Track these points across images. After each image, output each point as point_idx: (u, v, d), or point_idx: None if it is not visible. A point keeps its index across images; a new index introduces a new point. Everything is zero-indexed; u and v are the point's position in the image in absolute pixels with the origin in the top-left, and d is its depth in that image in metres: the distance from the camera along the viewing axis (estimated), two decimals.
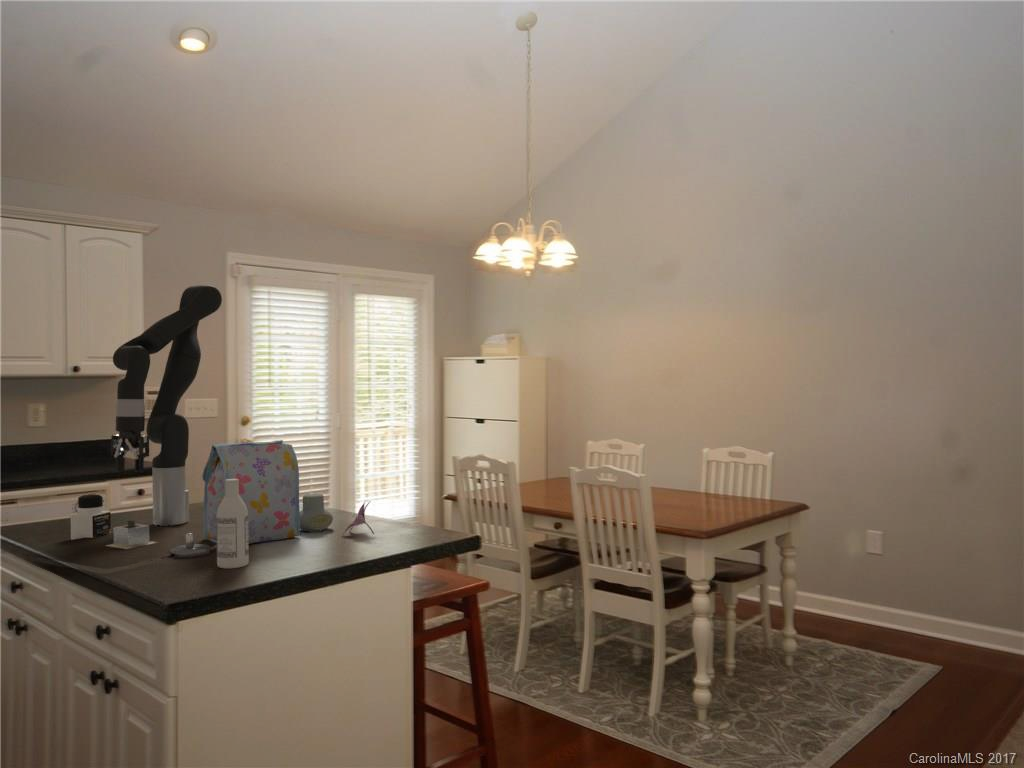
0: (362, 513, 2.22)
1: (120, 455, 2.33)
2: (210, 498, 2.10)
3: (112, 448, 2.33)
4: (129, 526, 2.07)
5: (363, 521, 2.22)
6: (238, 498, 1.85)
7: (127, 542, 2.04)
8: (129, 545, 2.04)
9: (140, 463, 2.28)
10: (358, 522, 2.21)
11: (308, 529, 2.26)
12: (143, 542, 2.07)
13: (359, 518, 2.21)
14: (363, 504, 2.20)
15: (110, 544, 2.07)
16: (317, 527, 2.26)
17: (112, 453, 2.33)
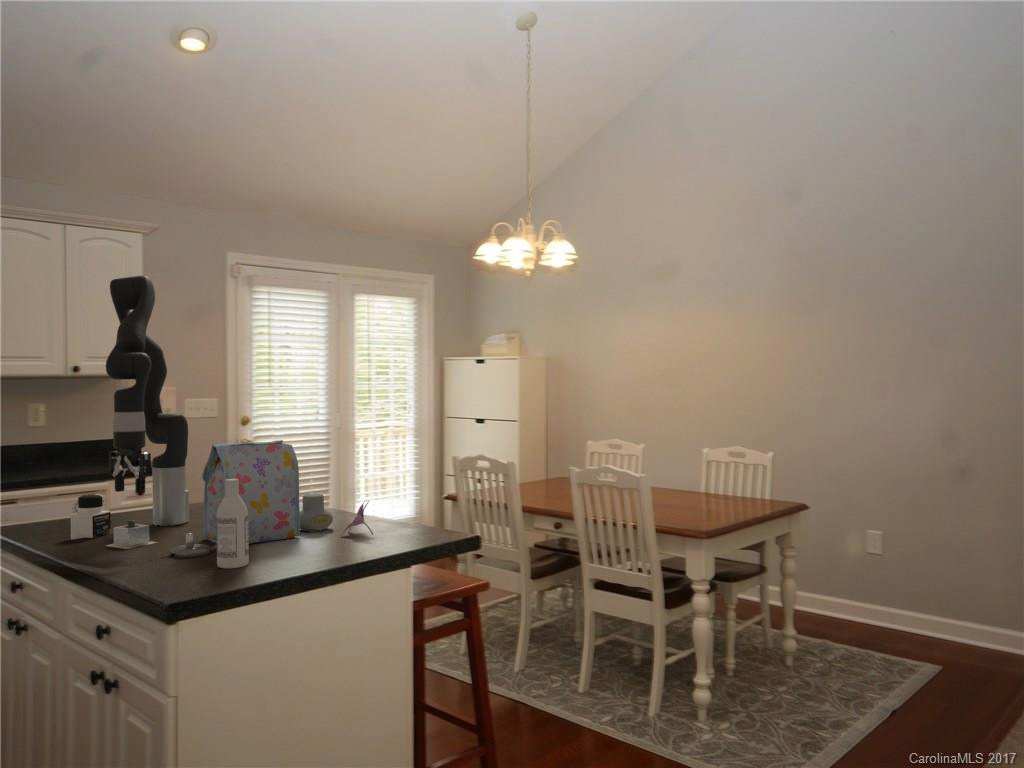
0: (361, 513, 2.22)
1: (119, 474, 2.10)
2: (210, 498, 2.10)
3: (110, 466, 2.10)
4: (129, 526, 2.07)
5: (362, 521, 2.22)
6: (238, 498, 1.85)
7: (127, 542, 2.04)
8: (129, 545, 2.04)
9: (141, 483, 2.05)
10: (357, 522, 2.21)
11: (308, 529, 2.26)
12: (143, 542, 2.07)
13: (358, 518, 2.20)
14: (362, 504, 2.20)
15: (110, 544, 2.07)
16: (317, 527, 2.26)
17: (110, 472, 2.10)
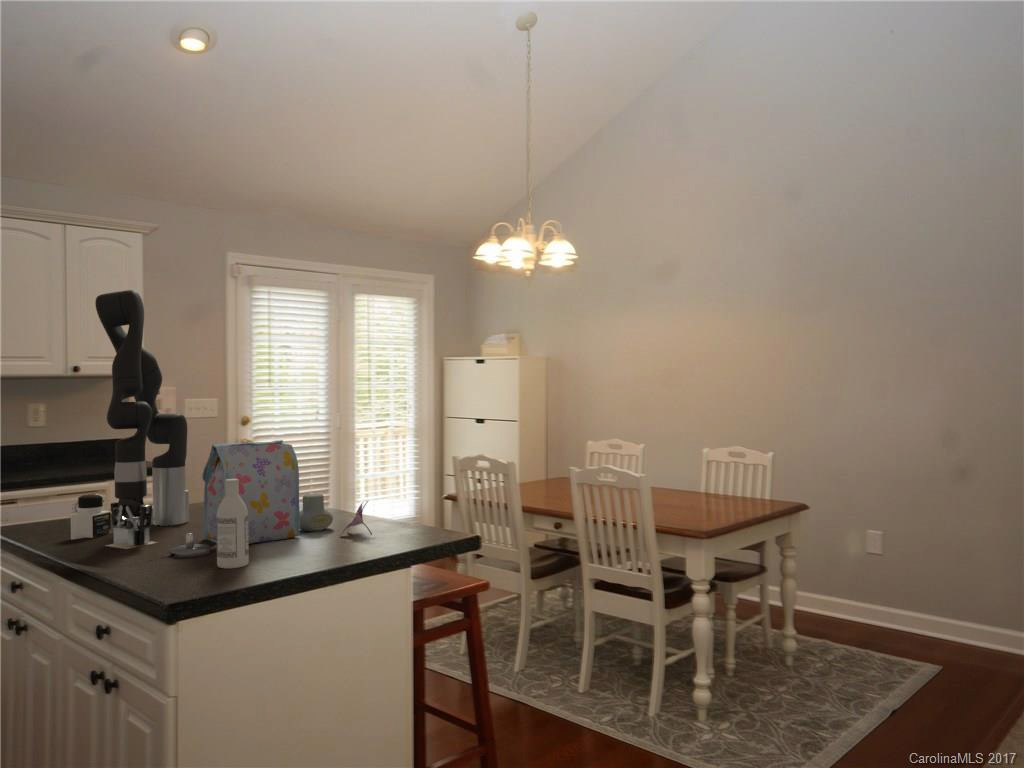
0: (360, 513, 2.22)
1: (123, 525, 2.09)
2: (210, 498, 2.10)
3: (113, 517, 2.09)
4: (129, 526, 2.07)
5: (361, 521, 2.22)
6: (238, 498, 1.85)
7: (127, 542, 2.04)
8: (129, 545, 2.04)
9: (141, 535, 2.05)
10: (356, 522, 2.21)
11: (308, 529, 2.26)
12: None
13: (357, 518, 2.20)
14: (361, 504, 2.20)
15: (110, 544, 2.07)
16: (317, 527, 2.26)
17: (114, 523, 2.09)
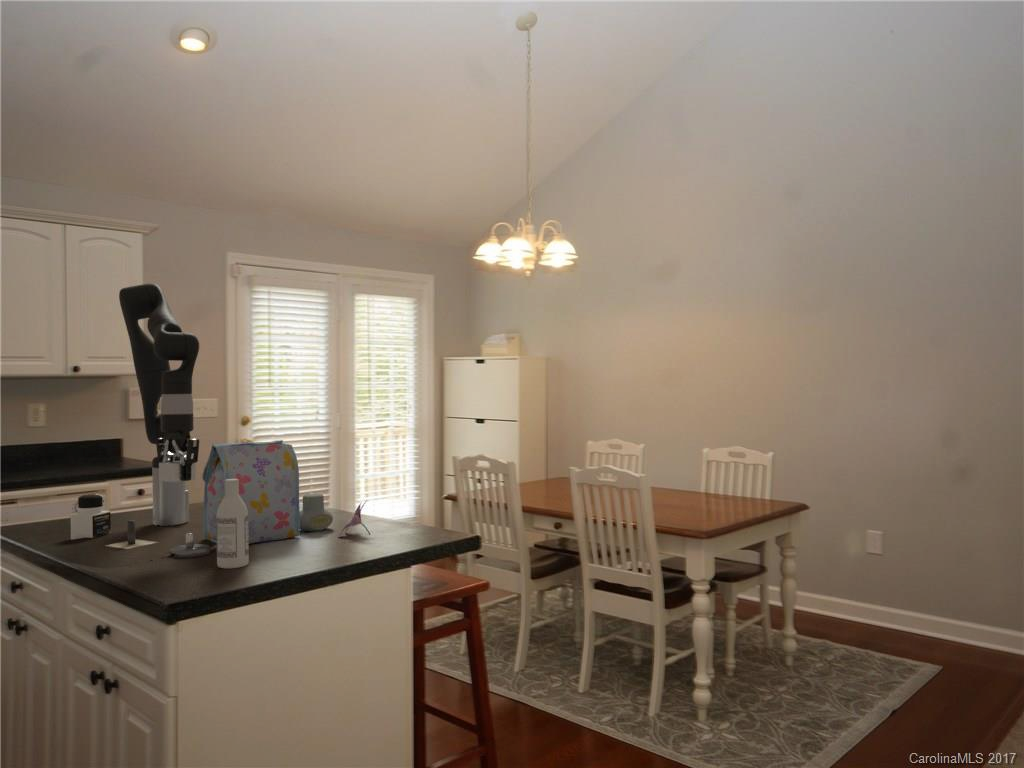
0: (358, 513, 2.22)
1: (169, 461, 2.01)
2: (210, 498, 2.10)
3: (159, 453, 2.01)
4: (129, 526, 2.07)
5: (359, 521, 2.22)
6: (238, 498, 1.85)
7: (173, 477, 1.95)
8: (175, 480, 1.96)
9: (187, 470, 1.97)
10: (354, 522, 2.21)
11: (308, 529, 2.26)
12: None
13: (355, 518, 2.20)
14: None
15: (110, 544, 2.07)
16: (317, 527, 2.26)
17: (160, 459, 2.01)
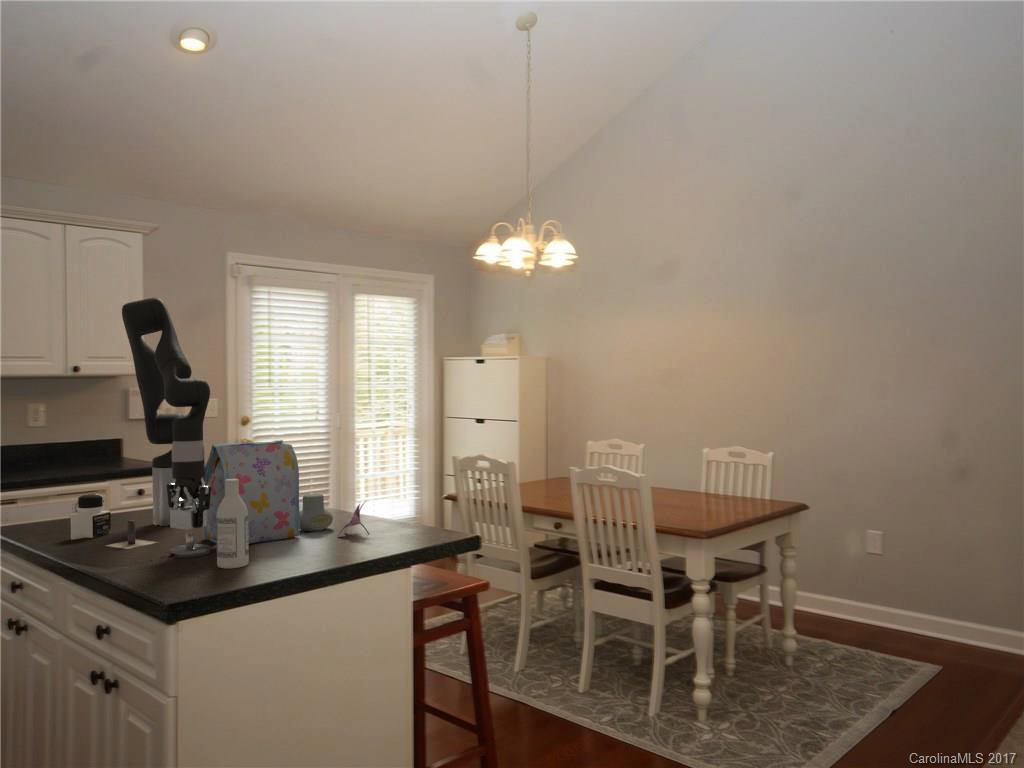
0: (357, 514, 2.21)
1: (180, 507, 2.01)
2: (210, 498, 2.10)
3: (170, 499, 2.01)
4: (129, 526, 2.07)
5: (358, 522, 2.21)
6: (238, 498, 1.85)
7: (185, 524, 1.95)
8: (187, 527, 1.96)
9: (199, 517, 1.97)
10: (353, 523, 2.20)
11: (308, 529, 2.26)
12: None
13: (354, 519, 2.20)
14: (359, 504, 2.19)
15: (110, 544, 2.07)
16: (317, 527, 2.26)
17: (170, 505, 2.01)
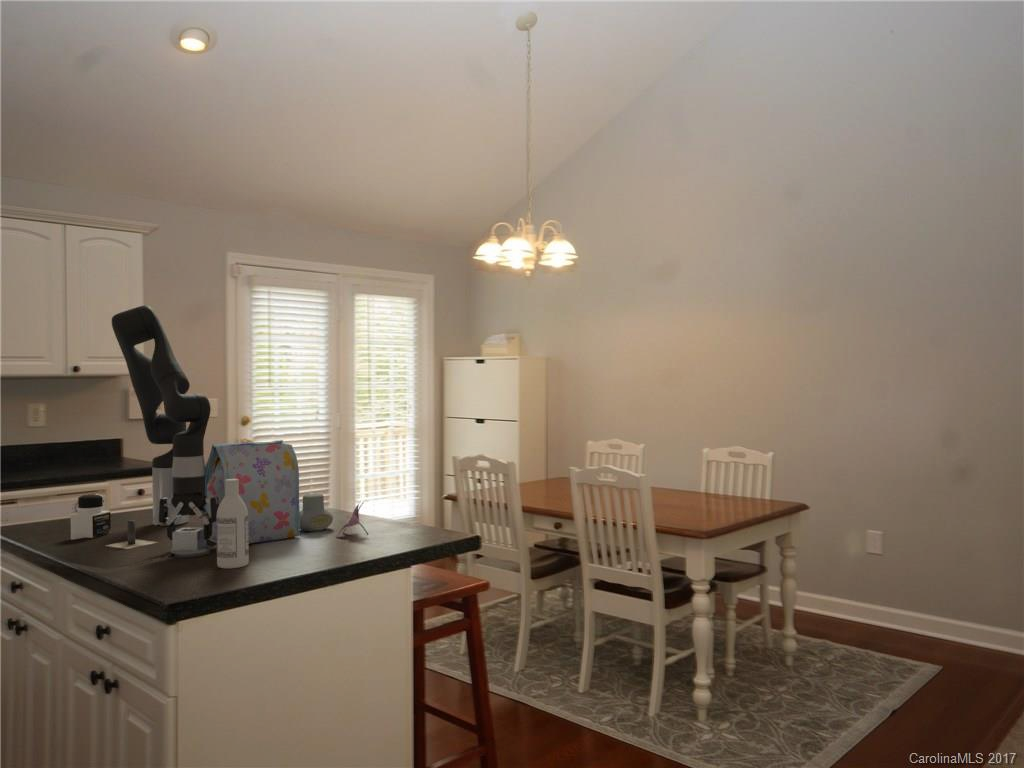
0: (356, 514, 2.21)
1: (172, 521, 1.99)
2: None
3: (162, 514, 1.98)
4: (129, 526, 2.07)
5: (357, 522, 2.21)
6: (238, 498, 1.85)
7: (195, 545, 1.97)
8: (197, 548, 1.97)
9: (210, 529, 1.99)
10: (352, 523, 2.20)
11: (308, 529, 2.26)
12: (203, 545, 2.01)
13: (353, 519, 2.20)
14: None
15: (110, 544, 2.07)
16: (317, 527, 2.26)
17: (162, 520, 1.98)
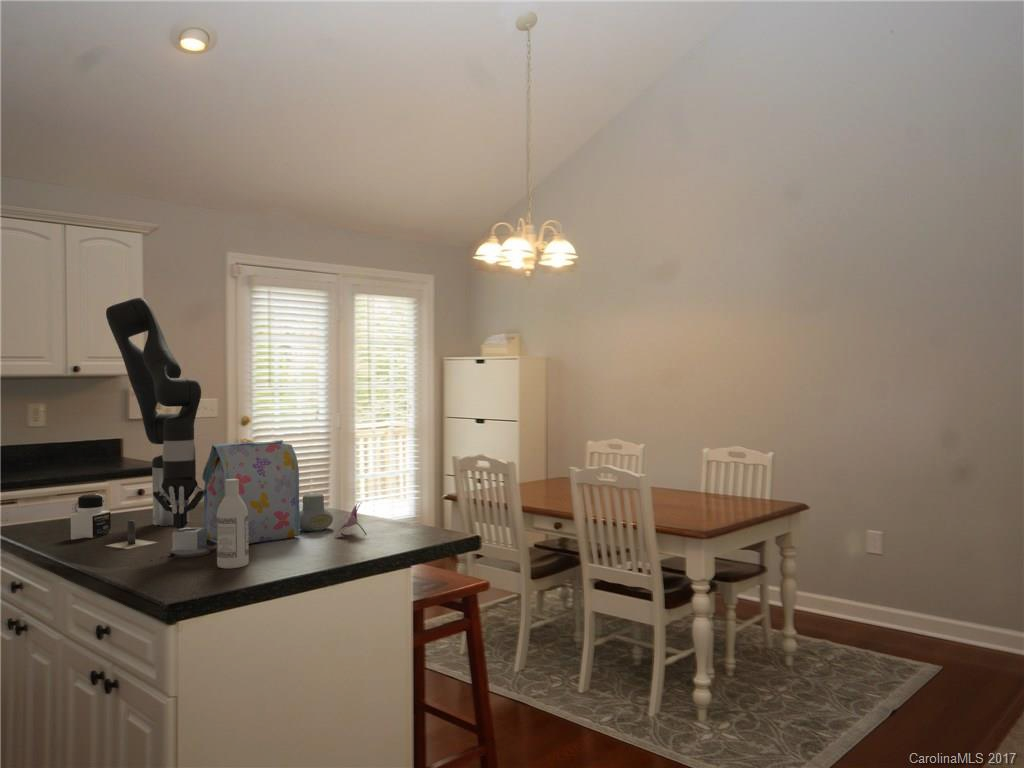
0: (354, 514, 2.21)
1: (178, 508, 1.99)
2: (210, 498, 2.10)
3: (164, 503, 1.98)
4: (129, 526, 2.07)
5: (355, 522, 2.21)
6: (238, 498, 1.85)
7: (195, 545, 1.97)
8: (197, 548, 1.97)
9: (185, 518, 1.99)
10: (350, 523, 2.20)
11: (308, 529, 2.26)
12: (203, 545, 2.01)
13: (352, 519, 2.19)
14: (356, 505, 2.19)
15: (110, 544, 2.07)
16: (317, 527, 2.26)
17: (168, 508, 1.98)
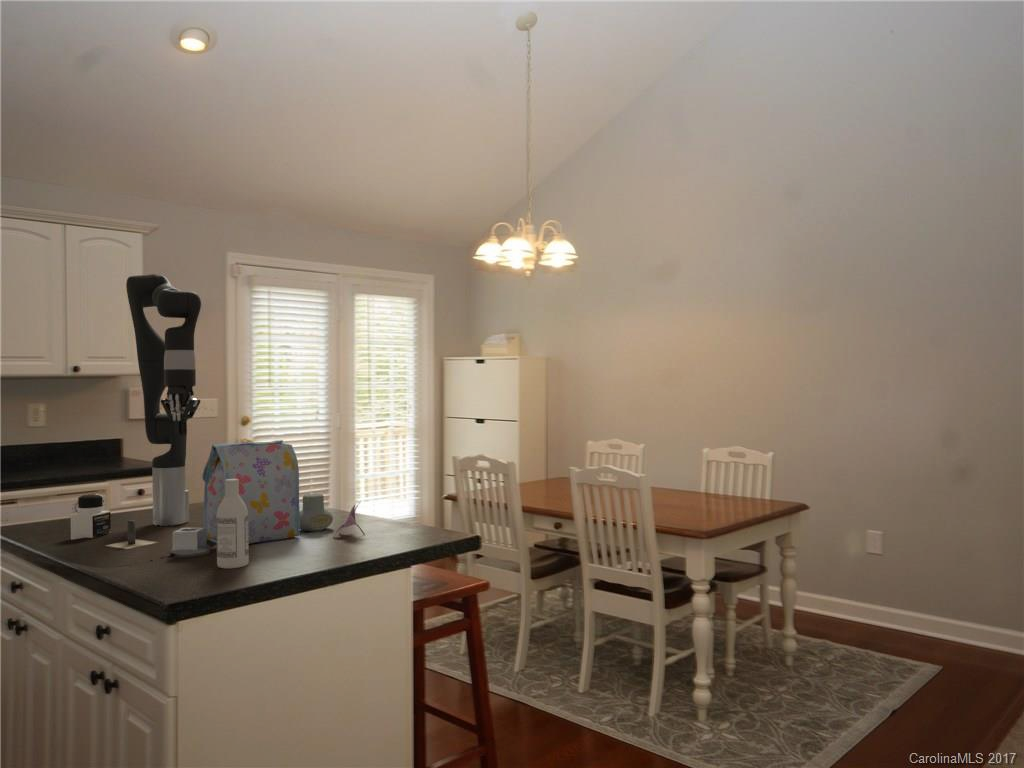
0: (353, 514, 2.21)
1: None
2: (210, 498, 2.10)
3: (167, 411, 2.07)
4: (129, 526, 2.07)
5: (354, 522, 2.21)
6: (238, 498, 1.85)
7: (195, 545, 1.97)
8: (197, 548, 1.97)
9: (183, 425, 2.06)
10: (349, 523, 2.20)
11: (308, 529, 2.26)
12: (203, 545, 2.01)
13: (350, 519, 2.19)
14: (354, 505, 2.18)
15: (110, 544, 2.07)
16: (317, 527, 2.26)
17: (170, 415, 2.07)
